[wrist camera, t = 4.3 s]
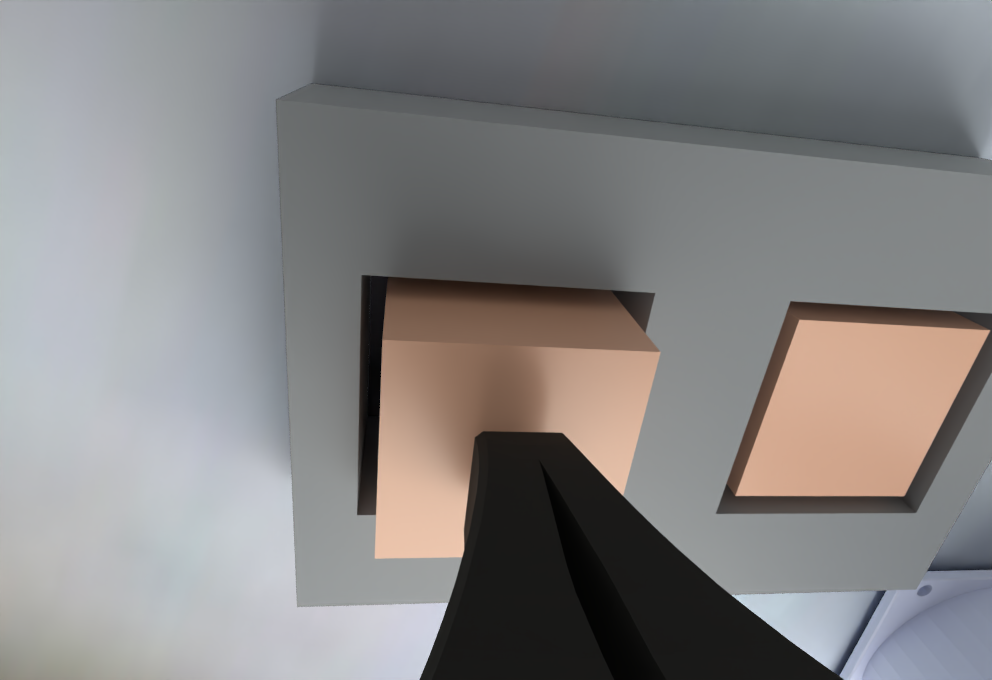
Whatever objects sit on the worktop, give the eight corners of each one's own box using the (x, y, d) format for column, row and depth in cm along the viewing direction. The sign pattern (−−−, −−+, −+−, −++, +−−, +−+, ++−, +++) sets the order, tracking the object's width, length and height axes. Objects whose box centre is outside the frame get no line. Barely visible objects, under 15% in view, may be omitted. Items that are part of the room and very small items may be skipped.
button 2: (878, 274, 15) (990, 330, 12) (819, 417, 17) (903, 496, 14) (720, 263, 14) (799, 319, 11) (676, 414, 16) (735, 495, 13)
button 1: (601, 278, 12) (660, 351, 9) (566, 449, 14) (607, 555, 11) (388, 264, 11) (381, 340, 9) (381, 446, 13) (374, 558, 10)
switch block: (982, 158, 14) (1146, 192, 11) (829, 495, 18) (916, 589, 15) (311, 83, 11) (275, 99, 8) (318, 495, 16) (297, 606, 13)
